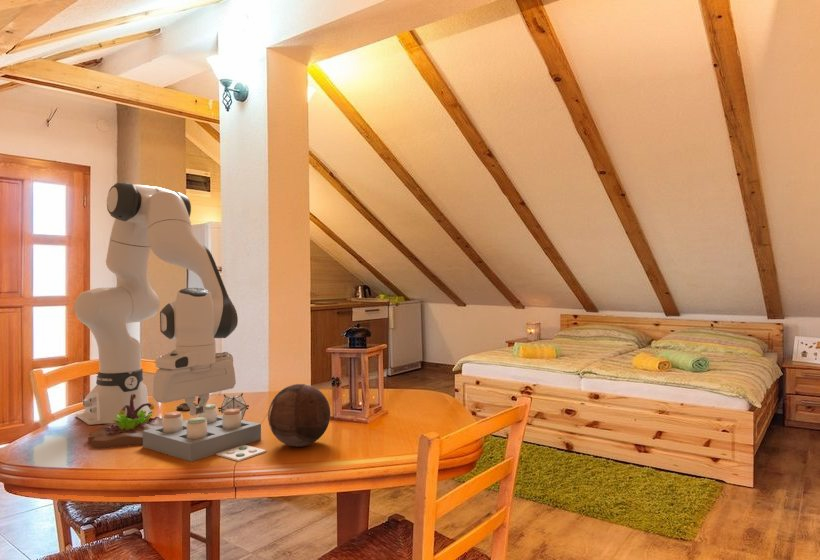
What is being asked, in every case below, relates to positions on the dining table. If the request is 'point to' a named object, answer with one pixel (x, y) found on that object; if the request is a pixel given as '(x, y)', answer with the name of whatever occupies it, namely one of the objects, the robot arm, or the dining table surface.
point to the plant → (125, 428)
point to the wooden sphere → (299, 415)
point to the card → (241, 452)
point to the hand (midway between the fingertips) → (197, 414)
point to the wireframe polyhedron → (234, 404)
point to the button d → (231, 419)
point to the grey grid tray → (201, 440)
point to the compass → (185, 406)
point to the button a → (172, 422)
